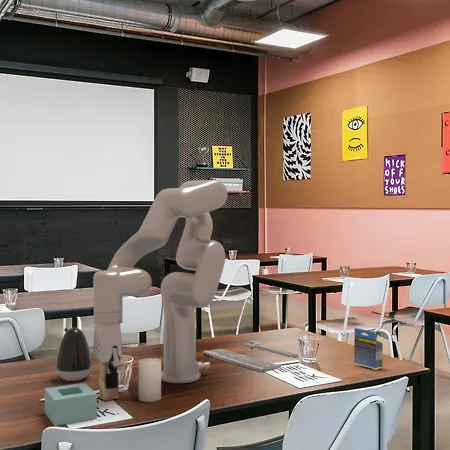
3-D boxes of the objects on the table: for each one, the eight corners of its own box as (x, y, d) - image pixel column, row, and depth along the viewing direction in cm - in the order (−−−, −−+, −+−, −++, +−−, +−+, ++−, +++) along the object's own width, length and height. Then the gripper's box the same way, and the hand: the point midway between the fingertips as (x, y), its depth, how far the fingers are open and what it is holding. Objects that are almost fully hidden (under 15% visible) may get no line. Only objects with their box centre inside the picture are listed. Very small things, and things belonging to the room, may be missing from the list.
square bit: (113, 393, 156) (113, 357, 155) (118, 398, 152) (118, 360, 152) (99, 396, 154) (99, 359, 153) (104, 400, 150) (103, 362, 150)
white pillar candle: (155, 393, 157) (155, 357, 157) (164, 399, 152) (164, 362, 152) (135, 396, 154) (135, 359, 154) (143, 403, 149) (143, 365, 149)
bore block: (84, 406, 146) (84, 382, 146) (96, 418, 138) (96, 393, 138) (44, 412, 141) (44, 388, 141) (54, 426, 133) (54, 400, 133)
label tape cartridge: (383, 369, 184) (383, 330, 183) (375, 371, 181) (375, 332, 181) (361, 363, 191) (361, 326, 190) (353, 364, 188) (353, 327, 188)
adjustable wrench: (300, 359, 197) (300, 354, 197) (286, 362, 193) (286, 357, 193) (254, 344, 217) (254, 340, 217) (240, 347, 213) (240, 342, 213)
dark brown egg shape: (80, 371, 177) (80, 322, 177) (97, 379, 170) (98, 328, 169) (49, 378, 170) (49, 327, 170) (66, 386, 163) (66, 333, 162)
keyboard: (284, 368, 185) (284, 362, 185) (261, 374, 178) (261, 368, 178) (225, 351, 207) (225, 346, 207) (202, 356, 200) (202, 350, 200)
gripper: (85, 313, 157) (85, 379, 158) (104, 324, 143) (105, 397, 144) (111, 310, 161) (112, 375, 162) (133, 321, 147) (133, 392, 147)
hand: (108, 384), depth 153 cm, fingers closed on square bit, 4 cm apart
